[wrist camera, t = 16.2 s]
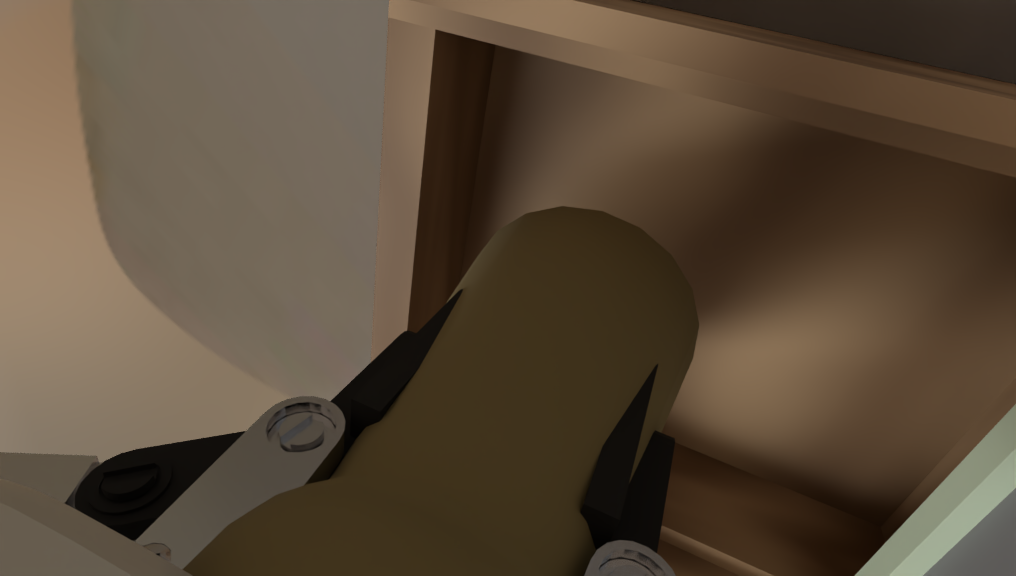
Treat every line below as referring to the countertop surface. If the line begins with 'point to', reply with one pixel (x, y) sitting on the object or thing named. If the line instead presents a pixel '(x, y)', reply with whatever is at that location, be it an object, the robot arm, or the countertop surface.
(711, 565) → the wooden drawer box
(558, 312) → the cork
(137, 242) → the countertop surface
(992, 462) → the lid
